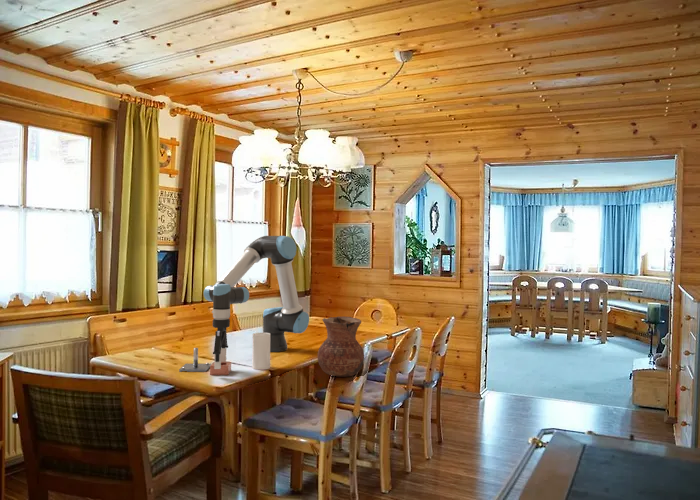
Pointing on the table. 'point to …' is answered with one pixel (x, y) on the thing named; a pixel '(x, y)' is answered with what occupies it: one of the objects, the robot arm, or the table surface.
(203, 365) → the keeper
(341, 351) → the brown clay vase
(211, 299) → the robot arm
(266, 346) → the cup
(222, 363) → the link
